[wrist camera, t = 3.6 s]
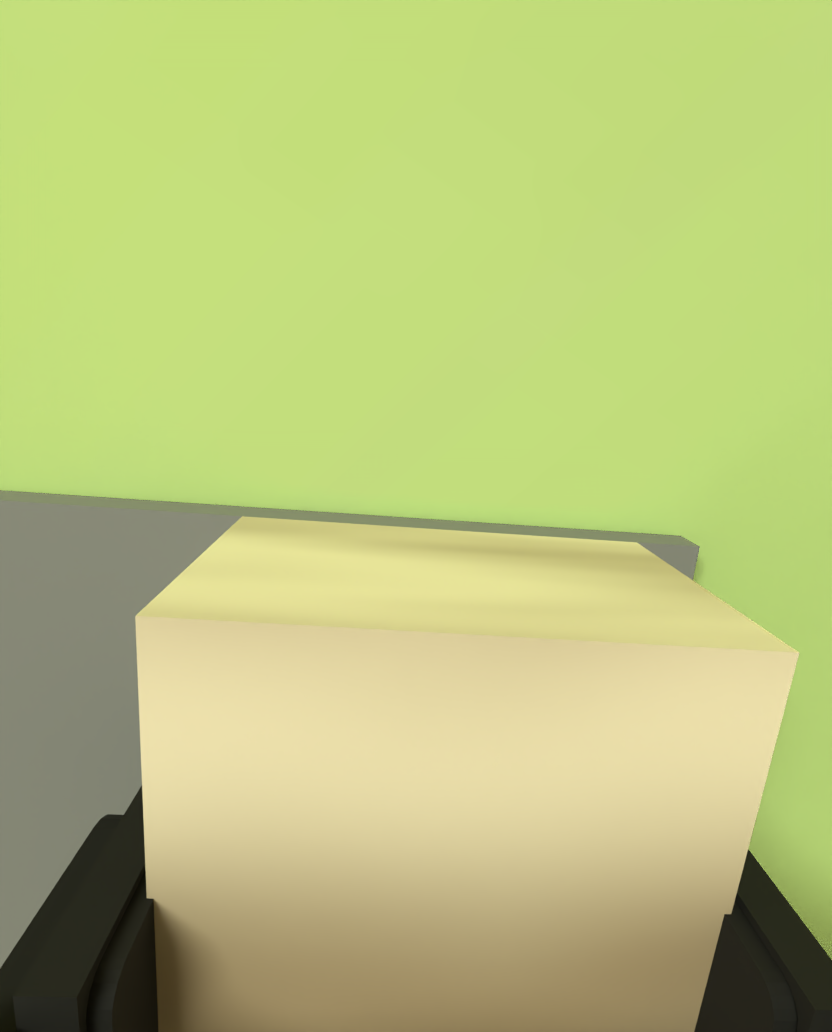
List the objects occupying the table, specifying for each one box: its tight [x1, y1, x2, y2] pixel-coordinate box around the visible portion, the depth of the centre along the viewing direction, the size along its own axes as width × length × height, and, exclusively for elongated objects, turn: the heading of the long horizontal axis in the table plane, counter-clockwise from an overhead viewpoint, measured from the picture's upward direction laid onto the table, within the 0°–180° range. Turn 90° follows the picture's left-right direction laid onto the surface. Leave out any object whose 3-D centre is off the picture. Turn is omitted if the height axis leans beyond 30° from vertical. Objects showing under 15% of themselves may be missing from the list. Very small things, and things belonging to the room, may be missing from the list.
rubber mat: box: [0, 490, 699, 968], centre depth 11 cm, size 18×16×1 cm
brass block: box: [135, 516, 799, 1032], centre depth 8 cm, size 9×6×4 cm, turn 176°
